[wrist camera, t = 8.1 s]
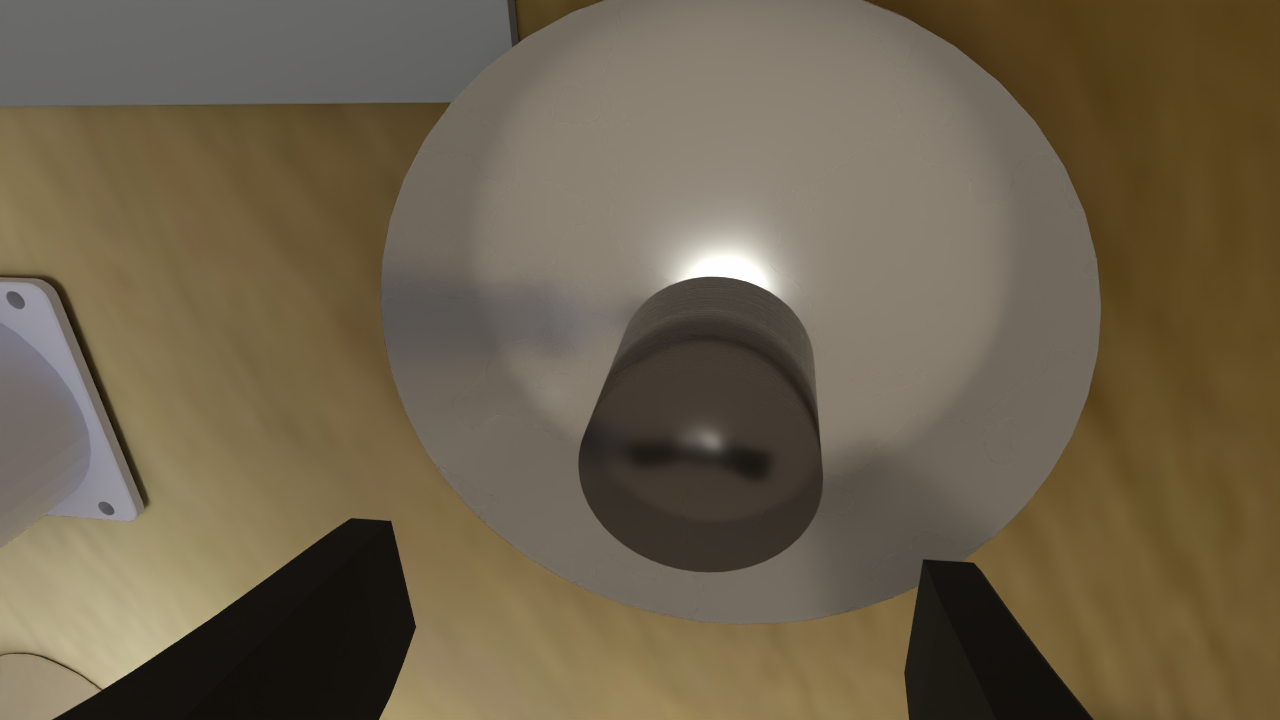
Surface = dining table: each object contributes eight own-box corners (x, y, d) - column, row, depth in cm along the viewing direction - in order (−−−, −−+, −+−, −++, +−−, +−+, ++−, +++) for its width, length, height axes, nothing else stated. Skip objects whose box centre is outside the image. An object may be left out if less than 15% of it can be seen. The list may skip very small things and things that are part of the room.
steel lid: (476, 593, 20) (404, 748, 16) (313, 29, 14) (139, 62, 10) (1043, 604, 17) (1118, 791, 13) (1139, -82, 11) (1321, -92, 7)
